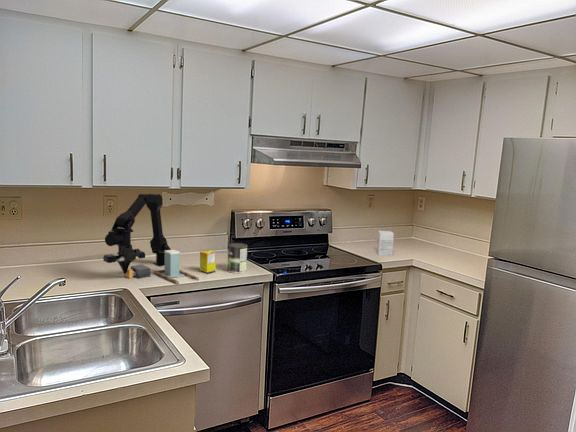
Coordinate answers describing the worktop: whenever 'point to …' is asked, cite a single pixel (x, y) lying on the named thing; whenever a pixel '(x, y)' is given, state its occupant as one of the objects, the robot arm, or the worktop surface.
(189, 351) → the worktop surface
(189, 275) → the track
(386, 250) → the supplement box
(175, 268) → the pale teal box
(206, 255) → the supplement box
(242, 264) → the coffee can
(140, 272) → the reset housing
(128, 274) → the plunger
